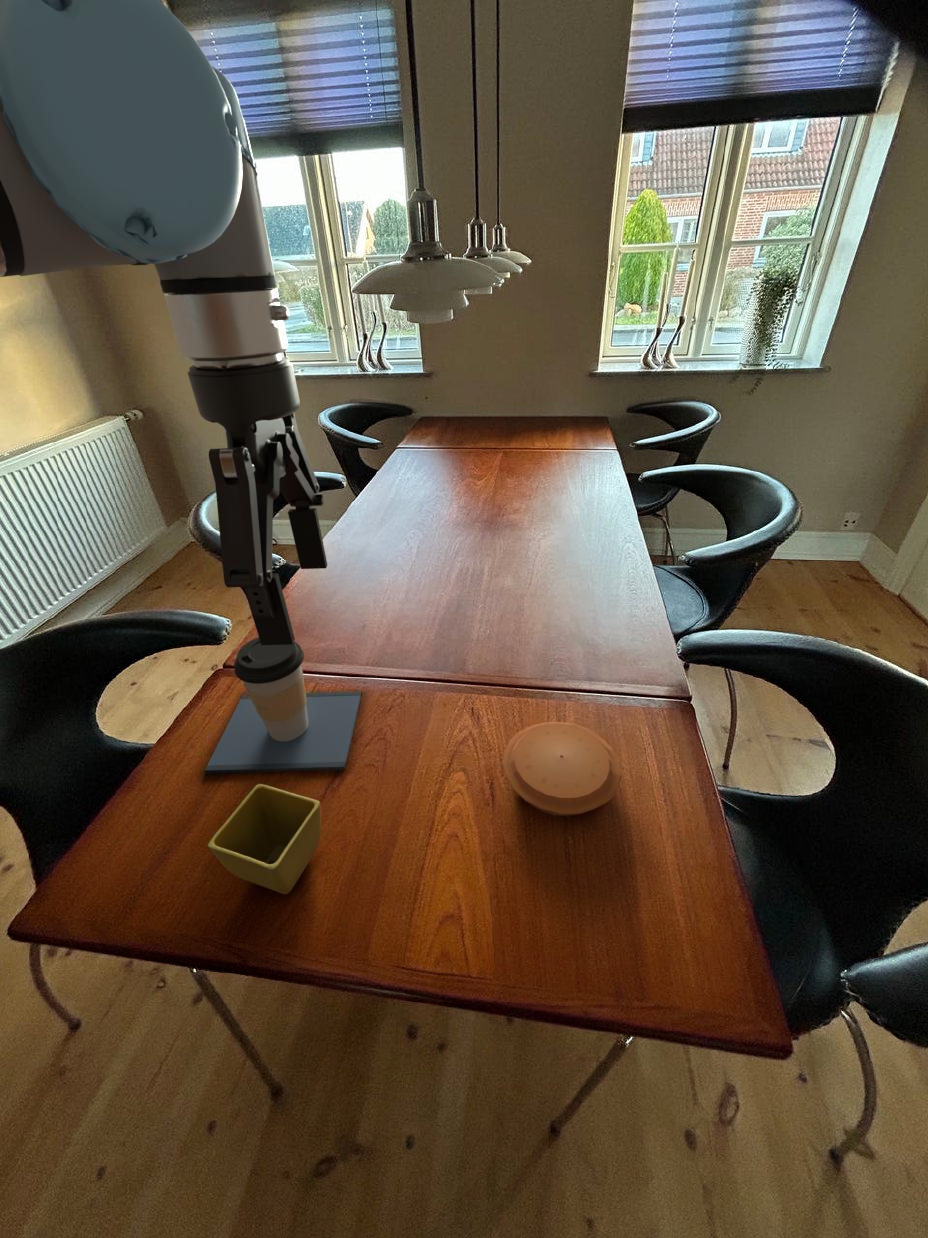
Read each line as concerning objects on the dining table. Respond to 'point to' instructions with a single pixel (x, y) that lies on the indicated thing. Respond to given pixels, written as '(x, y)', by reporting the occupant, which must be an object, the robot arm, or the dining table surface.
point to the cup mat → (313, 750)
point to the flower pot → (269, 838)
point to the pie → (561, 768)
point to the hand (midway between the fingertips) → (298, 601)
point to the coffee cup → (275, 686)
